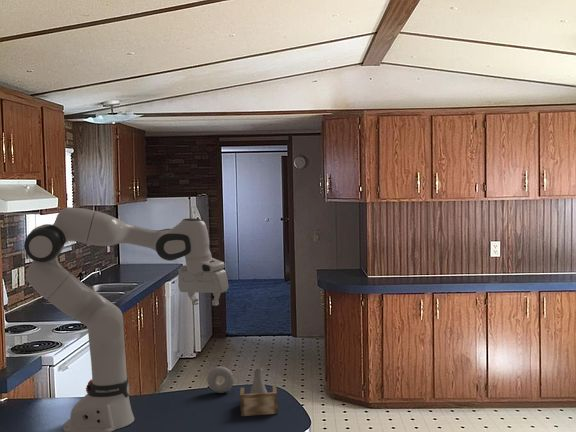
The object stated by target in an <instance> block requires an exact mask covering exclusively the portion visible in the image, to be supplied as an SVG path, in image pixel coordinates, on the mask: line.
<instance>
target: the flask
mask: <svg viewBox="0 0 576 432" xmlns="http://www.w3.org/2000/svg"><path fill="white" fill-rule="evenodd" d="M262 372H263V369H262V368H253V382H252V385H251V388H250V392H249V394H253V393H268V390H267V388H266V385H265V383H264V380H263V376H262Z"/></svg>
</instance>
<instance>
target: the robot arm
mask: <svg viewBox="0 0 576 432" xmlns="http://www.w3.org/2000/svg"><path fill="white" fill-rule="evenodd" d="M209 237H210V236H209V231H208V228H207V225H206V222H205V221H204V220H202V219H200V218H183V219H182V220H181V221H180V222H179V223H178V224H176V225H175V226H174V227H172V228H164V229H160V230H155V229H149V228H144V227H141V226H140V227H139V226H137V225H132V224H129V223H127V222H124V221H122V220H121V219H118V218H116V217H114V216H112V215H110V214H107V213H104V212H101V211H97V210H92V209H90V208H89V209H87V208H81V207H72V206H71V207H64V208H62V209H61V210H60V211H59V212H58V214H57V215H56V217H55V220H54V223H53V224H48V223H47V224H42V225H39V226H37V227H34V228H33V229H32V230H31V231H30V232H29V233H28V234H27V235H26V237H25V240H24V242H23V246H24V247H23V249H24V252H25V255H27V257H28V258H29V259H31V260H32V262H31V263H30V265H29V266H28V268H27V270H26V273H25V280H26V282H27V283H28V284H29V285H30V287H32V288H33V289H34V291H36V292H37V293H38V294H39V295H40V296H41V297H42V298H44V299H45V300H47V302H48V303H50V304H51V305H53V306H54V307H56V308H57V309H58V310H60V312H62V313H63V314H65V315H66V316H68V317H71V318H72V319H74V320H76V321H77V322H79V323H81V324H82V325H84V326H86V327H87V333H88V335H87V336H88V344H89V353H90V354H89V355H90V365H91V379H89V381H88V383H87V384H86V388H85V392H86V395H84V396H83V397H82V398H81V399H79V400H78V401H77V402H76V404H74V405H73V407H72V409H71V412H70V416H69V417H70V418H69V419H67V421H65V423H64V425H63V428H62V430H63V432H113V431H115V430H118V429H122V428H124V427H127V426H129V425H131V424H132V423H133V422H134V421H135V420H136V419H135V415H134V414H133V410H132V406H131V402H130V397H129V395H130V382H129V378H128V375H127V360H126V359H127V358H126V346H125V345H126V344H125V343H126V342H125V328H124V327H125V326H124V316H123V312H122V311H121V309H120V308H119V307H118V306H116V305H115V304H114V303H112V302H111V301H110V300H108V299H107V298H105V297H104V296H103V295H101V294H99V293H98V292H96V291H95V290H94V289H92V288H91V287H90V286H87V285H86V284H85V283H84V282H82V281H81V280H80V279H79V278H77V277H76V276H75V275H73V273H71V272H70V271H68V270H67V269H66V268H64V267H63V266H62V265H61V264H60V262H59V258H60V256H61V253H62V251H63V249H64V247H65V244H66V243H68V242H79V243H83V244H85V245H92V246H97V247H110V246H111V247H112V246H115V245H118V244H129V245H134V246H139V247H143V248H148V249H151V250H153V251H155V252H156V253H157V255H158V256H159V257H160V258H161V259H162V260H165V261H170V262H171V261H176V260H178V259H180V258H183V257H185V258H184V259H185V264H186V265H183V264H182V265H180V266H179V268H178V270H177V272H178V274H177V278H178V280H177V281H178V282H177V284H178V290H179V291H180V293H187V296H188V297H189V299H190V300H191V305H193V306H197V305H199V298H196V295H195V294H196V293H203V294H204V293H206V294H207V293H208V294H209V293H210V294H211V293H212V295H213V297H214V298H213V299H212V300H211V303H212V304H211V305H212V306H216V307H217V306H219V305H220V302H219V301H220V300H219V299H220V297H221V294H223V293H225V292H227V291H228V289H229V280H228V275H227V272H226V270H225V269H224V268H225V267H226V264H225V262H224V261H222V260H219V259H216V258H214V257H212V252H211V250H210V238H209Z"/></svg>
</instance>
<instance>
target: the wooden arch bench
mask: <svg viewBox="0 0 576 432" xmlns="http://www.w3.org/2000/svg"><path fill="white" fill-rule="evenodd" d="M239 393H240V394H239V403H240V404H239V405H240V417H247V416H249V417H250V416H263V415H277V414H279V405H278V404H279V403H278V391H277V385H275V384H274V385H272V392H268V391H267V393H253V394H250V393H245V387H243V386H242V387H240V391H239Z"/></svg>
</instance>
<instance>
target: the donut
mask: <svg viewBox="0 0 576 432" xmlns="http://www.w3.org/2000/svg"><path fill="white" fill-rule="evenodd" d="M220 376H221V377H223V379H224V382H223V383H219V382H218V380H217V377H220ZM234 379H235V378H234V374H233V372H232V371H231V369H229V368H227V367H225V366H220V365H219V366H215V367H213V368H211V370H210V371H209V372H208V375H207V377H206V381H207V385H208V387H209V388H210V390H211V391H213V392H214V393H219V394H224V393H227V392H228V391H230V390H231V388H233V386H234V381H235V380H234Z"/></svg>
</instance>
